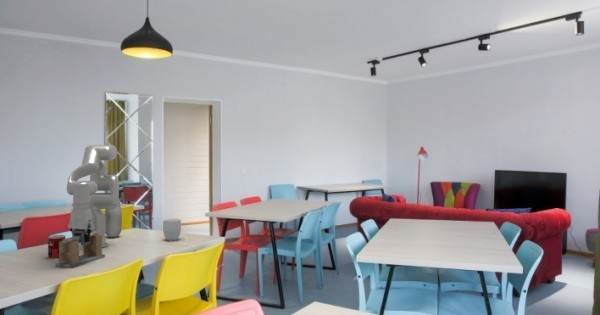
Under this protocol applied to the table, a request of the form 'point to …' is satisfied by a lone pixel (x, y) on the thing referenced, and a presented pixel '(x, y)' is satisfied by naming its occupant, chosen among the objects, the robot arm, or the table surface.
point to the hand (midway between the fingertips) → (81, 241)
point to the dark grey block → (82, 233)
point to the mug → (171, 228)
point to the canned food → (54, 245)
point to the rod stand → (71, 251)
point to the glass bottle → (113, 221)
